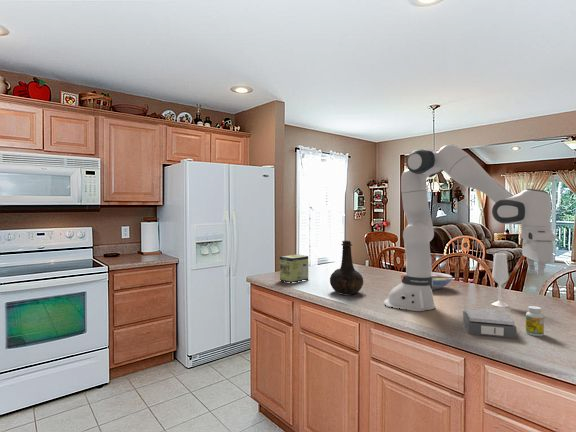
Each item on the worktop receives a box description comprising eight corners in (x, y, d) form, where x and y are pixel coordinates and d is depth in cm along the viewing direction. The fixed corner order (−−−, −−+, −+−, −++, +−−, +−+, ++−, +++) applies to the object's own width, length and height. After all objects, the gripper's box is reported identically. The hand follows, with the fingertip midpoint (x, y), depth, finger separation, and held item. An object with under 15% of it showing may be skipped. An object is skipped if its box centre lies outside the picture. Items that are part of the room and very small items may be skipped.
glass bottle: (347, 287, 204) (347, 238, 203) (370, 293, 189) (370, 241, 188) (322, 291, 194) (322, 240, 193) (345, 298, 179) (345, 243, 178)
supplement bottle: (547, 335, 128) (547, 308, 128) (537, 337, 126) (538, 310, 126) (531, 330, 133) (531, 304, 133) (522, 332, 131) (522, 306, 130)
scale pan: (470, 321, 130) (470, 317, 130) (464, 310, 143) (464, 307, 143) (514, 325, 125) (514, 321, 125) (504, 313, 138) (504, 310, 138)
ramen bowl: (446, 284, 211) (446, 270, 211) (461, 293, 189) (461, 278, 188) (403, 283, 214) (403, 270, 214) (412, 292, 191) (412, 277, 191)
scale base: (468, 334, 129) (468, 323, 129) (462, 321, 144) (463, 311, 144) (516, 339, 124) (516, 327, 124) (505, 325, 139) (505, 314, 139)
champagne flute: (511, 306, 164) (512, 254, 164) (498, 307, 163) (499, 254, 163) (500, 302, 171) (501, 252, 170) (488, 303, 170) (488, 252, 169)
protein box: (279, 281, 221) (279, 256, 220) (297, 278, 231) (297, 254, 231) (290, 284, 213) (290, 258, 213) (308, 280, 224) (308, 255, 223)
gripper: (517, 231, 139) (517, 267, 140) (534, 235, 120) (534, 276, 120) (536, 232, 137) (536, 268, 138) (557, 236, 118) (556, 278, 118)
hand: (535, 272), depth 129 cm, fingers open, 8 cm apart
